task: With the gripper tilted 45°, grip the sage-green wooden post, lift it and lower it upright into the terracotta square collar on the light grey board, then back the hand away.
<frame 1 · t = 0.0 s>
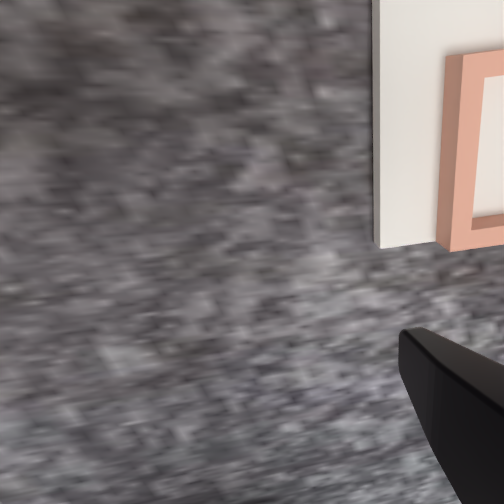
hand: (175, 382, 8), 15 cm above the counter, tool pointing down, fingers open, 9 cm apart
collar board: (491, 114, 22), on the counter
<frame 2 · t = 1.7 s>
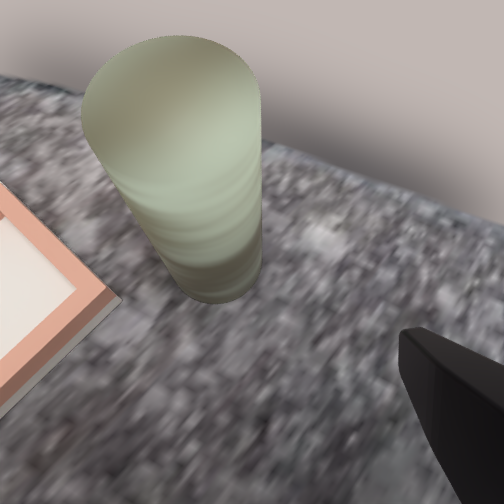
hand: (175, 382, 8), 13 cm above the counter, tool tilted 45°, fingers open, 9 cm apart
post: (216, 259, 24), on the counter
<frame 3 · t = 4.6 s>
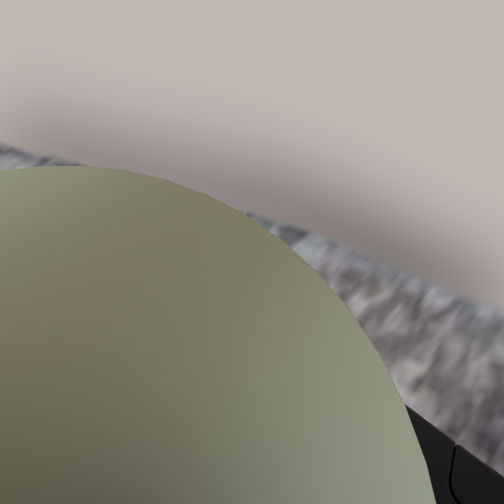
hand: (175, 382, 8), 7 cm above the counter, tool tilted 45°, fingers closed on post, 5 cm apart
post: (217, 444, 14), on the counter, touching gripper
when the fingers open (8 cm above the counter, at t = 10.7 s): post stays where it is, resting on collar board.
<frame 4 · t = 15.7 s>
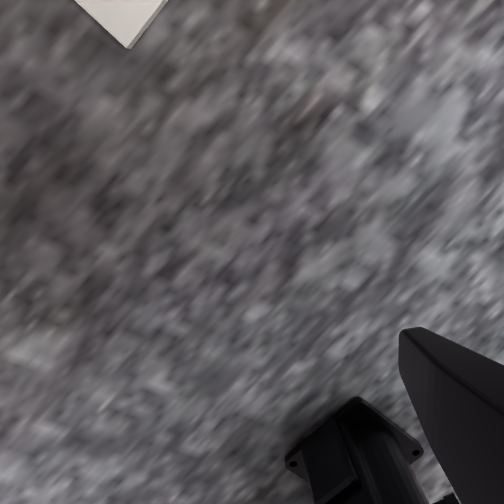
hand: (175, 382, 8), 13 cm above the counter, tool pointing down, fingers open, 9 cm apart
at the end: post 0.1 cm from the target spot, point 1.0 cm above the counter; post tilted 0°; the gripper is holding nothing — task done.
